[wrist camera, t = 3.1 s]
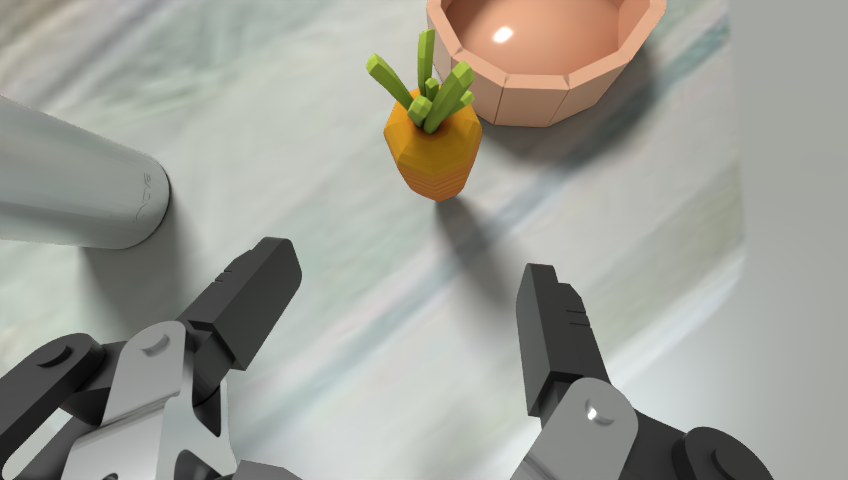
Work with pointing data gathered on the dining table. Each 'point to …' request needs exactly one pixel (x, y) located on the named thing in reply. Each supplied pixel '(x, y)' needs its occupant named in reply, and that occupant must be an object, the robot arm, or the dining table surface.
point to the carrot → (431, 124)
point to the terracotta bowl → (539, 52)
